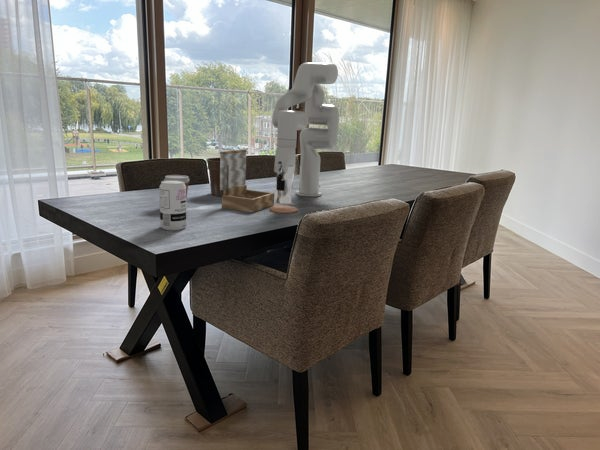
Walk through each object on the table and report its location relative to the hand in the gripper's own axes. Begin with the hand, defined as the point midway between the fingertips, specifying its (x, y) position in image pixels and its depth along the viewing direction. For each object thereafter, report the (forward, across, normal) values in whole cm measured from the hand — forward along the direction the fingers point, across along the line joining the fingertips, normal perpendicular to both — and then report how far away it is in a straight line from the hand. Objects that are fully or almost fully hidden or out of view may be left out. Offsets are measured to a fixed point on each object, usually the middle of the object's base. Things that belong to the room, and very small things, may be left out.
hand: (284, 188), depth 178 cm
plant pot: (+9, -13, -37) cm, 40 cm away
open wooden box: (+9, +2, -15) cm, 17 cm away
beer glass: (+6, 0, 0) cm, 6 cm away
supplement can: (+9, +46, -17) cm, 50 cm away
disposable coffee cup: (+9, +21, -36) cm, 43 cm away
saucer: (+9, 0, 0) cm, 9 cm away
